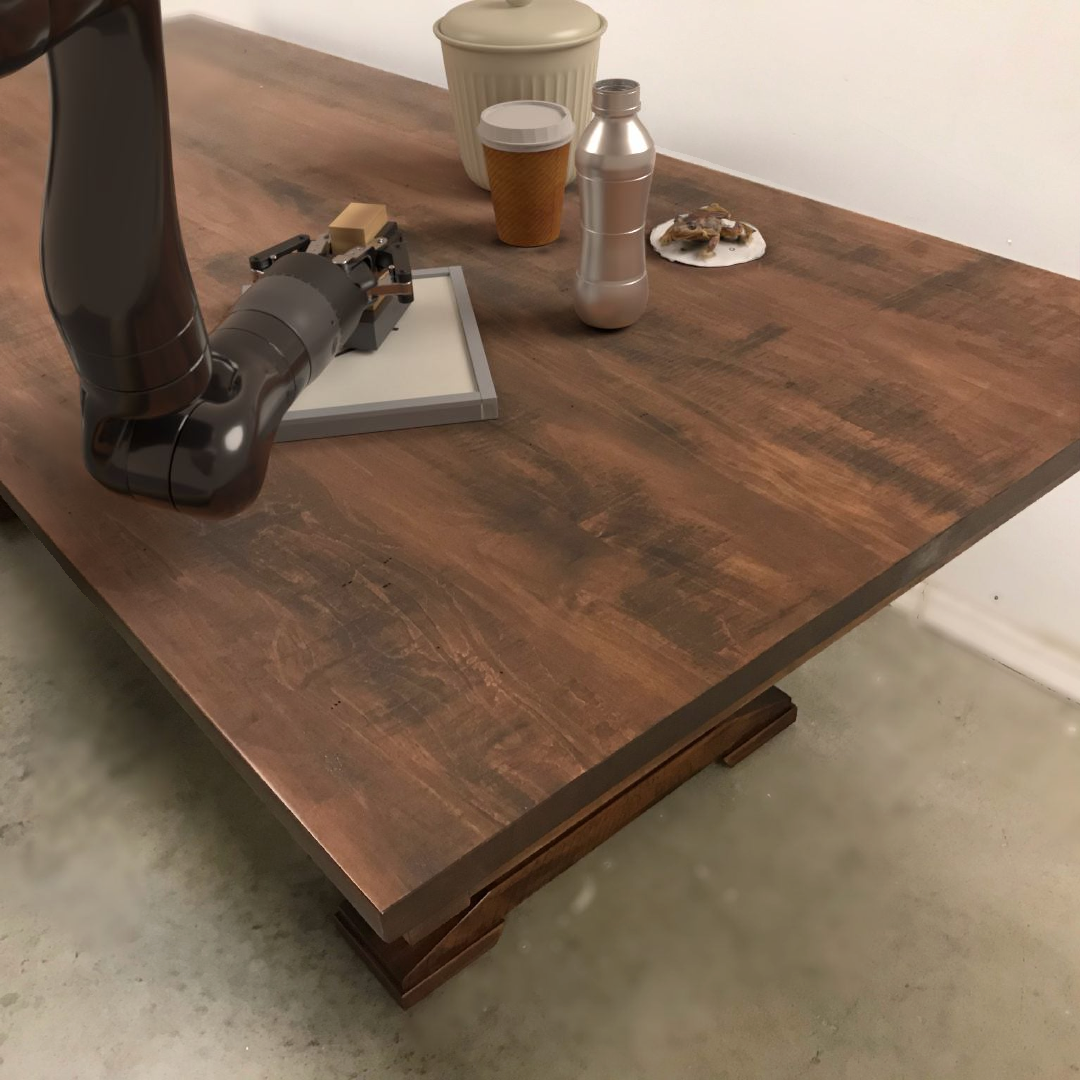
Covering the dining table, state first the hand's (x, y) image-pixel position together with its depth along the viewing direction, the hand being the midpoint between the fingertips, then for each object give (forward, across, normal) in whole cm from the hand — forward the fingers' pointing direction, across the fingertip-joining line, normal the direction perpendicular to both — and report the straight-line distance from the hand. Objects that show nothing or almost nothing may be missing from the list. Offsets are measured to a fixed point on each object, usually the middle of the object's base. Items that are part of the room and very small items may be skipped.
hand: (373, 231), depth 91 cm
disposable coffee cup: (+22, -8, +9) cm, 25 cm away
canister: (+37, -4, +9) cm, 38 cm away
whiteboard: (-5, 0, +9) cm, 10 cm away
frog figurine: (+23, -26, +9) cm, 36 cm away
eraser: (-3, 0, +7) cm, 8 cm away
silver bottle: (+5, -19, +9) cm, 22 cm away
